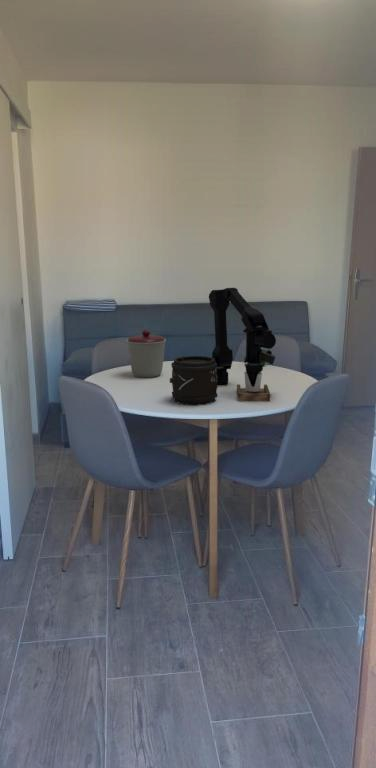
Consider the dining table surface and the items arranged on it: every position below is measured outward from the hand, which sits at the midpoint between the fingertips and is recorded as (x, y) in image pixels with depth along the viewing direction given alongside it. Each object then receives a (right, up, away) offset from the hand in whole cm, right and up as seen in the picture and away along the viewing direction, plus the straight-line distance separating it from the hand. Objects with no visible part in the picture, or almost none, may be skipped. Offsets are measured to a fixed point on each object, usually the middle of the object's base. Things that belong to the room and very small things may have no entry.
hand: (252, 384), depth 231 cm
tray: (0, -4, -1) cm, 5 cm away
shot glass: (0, -2, +1) cm, 2 cm away
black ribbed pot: (-23, -6, -6) cm, 25 cm away
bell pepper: (+9, +9, +59) cm, 60 cm away
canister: (-44, +4, +38) cm, 59 cm away
